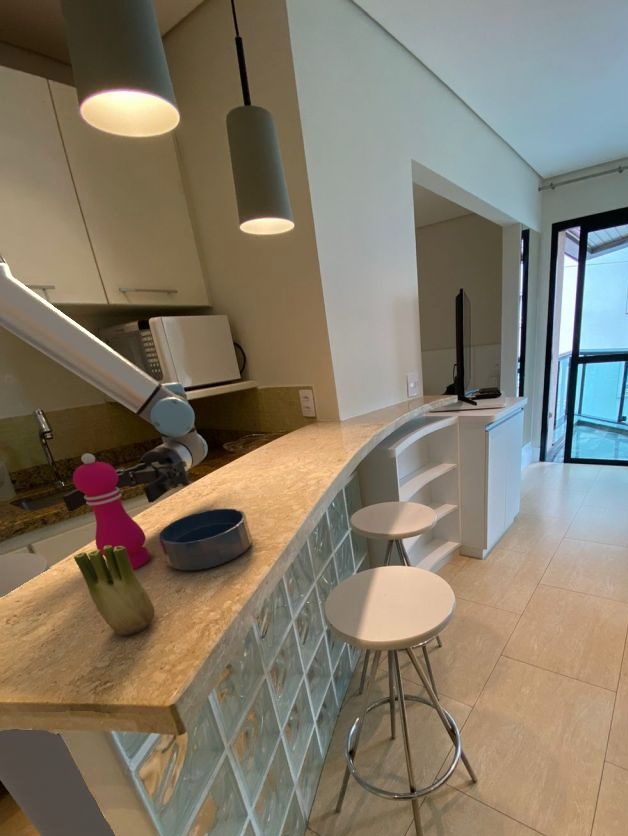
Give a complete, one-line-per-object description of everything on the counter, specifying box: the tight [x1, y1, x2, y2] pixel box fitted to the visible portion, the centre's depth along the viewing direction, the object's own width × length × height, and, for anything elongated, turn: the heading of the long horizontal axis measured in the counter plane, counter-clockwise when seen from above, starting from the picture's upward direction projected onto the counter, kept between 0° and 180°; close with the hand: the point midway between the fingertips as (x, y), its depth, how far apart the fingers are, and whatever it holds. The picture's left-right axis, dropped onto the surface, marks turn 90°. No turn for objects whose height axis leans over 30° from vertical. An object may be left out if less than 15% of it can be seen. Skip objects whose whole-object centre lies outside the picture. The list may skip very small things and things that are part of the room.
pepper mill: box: [72, 452, 151, 570], centre depth 68 cm, size 7×7×20 cm
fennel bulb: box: [73, 545, 156, 636], centre depth 52 cm, size 6×5×12 cm
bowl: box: [158, 507, 253, 571], centre depth 72 cm, size 14×14×6 cm
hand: (107, 499), depth 68 cm, fingers open, 13 cm apart
